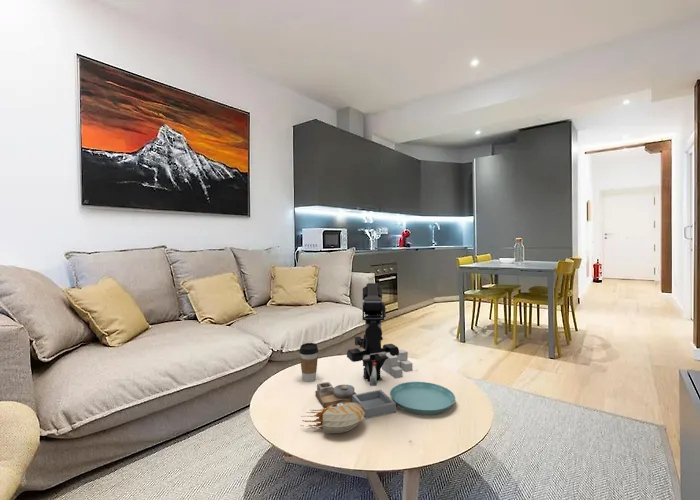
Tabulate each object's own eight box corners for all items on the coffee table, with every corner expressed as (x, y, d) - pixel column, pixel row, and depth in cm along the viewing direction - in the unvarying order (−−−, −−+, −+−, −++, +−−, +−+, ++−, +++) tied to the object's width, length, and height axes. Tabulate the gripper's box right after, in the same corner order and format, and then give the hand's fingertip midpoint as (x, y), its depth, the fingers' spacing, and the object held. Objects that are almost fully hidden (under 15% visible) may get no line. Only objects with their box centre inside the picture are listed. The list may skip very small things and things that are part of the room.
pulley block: (348, 389, 148) (348, 377, 148) (358, 401, 138) (358, 388, 137) (315, 395, 143) (315, 383, 142) (323, 408, 132) (323, 395, 132)
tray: (380, 397, 140) (380, 389, 140) (395, 412, 129) (395, 403, 129) (352, 403, 136) (352, 394, 136) (365, 418, 125) (365, 409, 125)
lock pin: (375, 382, 134) (375, 359, 134) (378, 385, 131) (378, 361, 131) (367, 383, 133) (367, 360, 133) (371, 387, 130) (371, 363, 130)
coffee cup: (320, 375, 162) (320, 342, 162) (316, 383, 154) (316, 349, 153) (302, 375, 163) (301, 342, 162) (297, 382, 155) (297, 348, 154)
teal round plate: (466, 401, 138) (466, 392, 138) (434, 427, 120) (434, 417, 120) (412, 383, 154) (412, 376, 154) (377, 404, 136) (377, 395, 136)
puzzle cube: (395, 378, 159) (395, 361, 158) (381, 369, 170) (381, 352, 169) (417, 374, 164) (417, 357, 163) (403, 365, 175) (403, 349, 174)
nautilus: (296, 441, 113) (305, 418, 128) (365, 439, 111) (366, 416, 126) (294, 415, 113) (304, 396, 128) (363, 413, 111) (364, 394, 126)
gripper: (385, 325, 142) (385, 364, 143) (341, 330, 135) (341, 371, 136) (399, 332, 132) (399, 374, 133) (352, 338, 125) (352, 382, 126)
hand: (373, 375), depth 132 cm, fingers closed on lock pin, 2 cm apart
